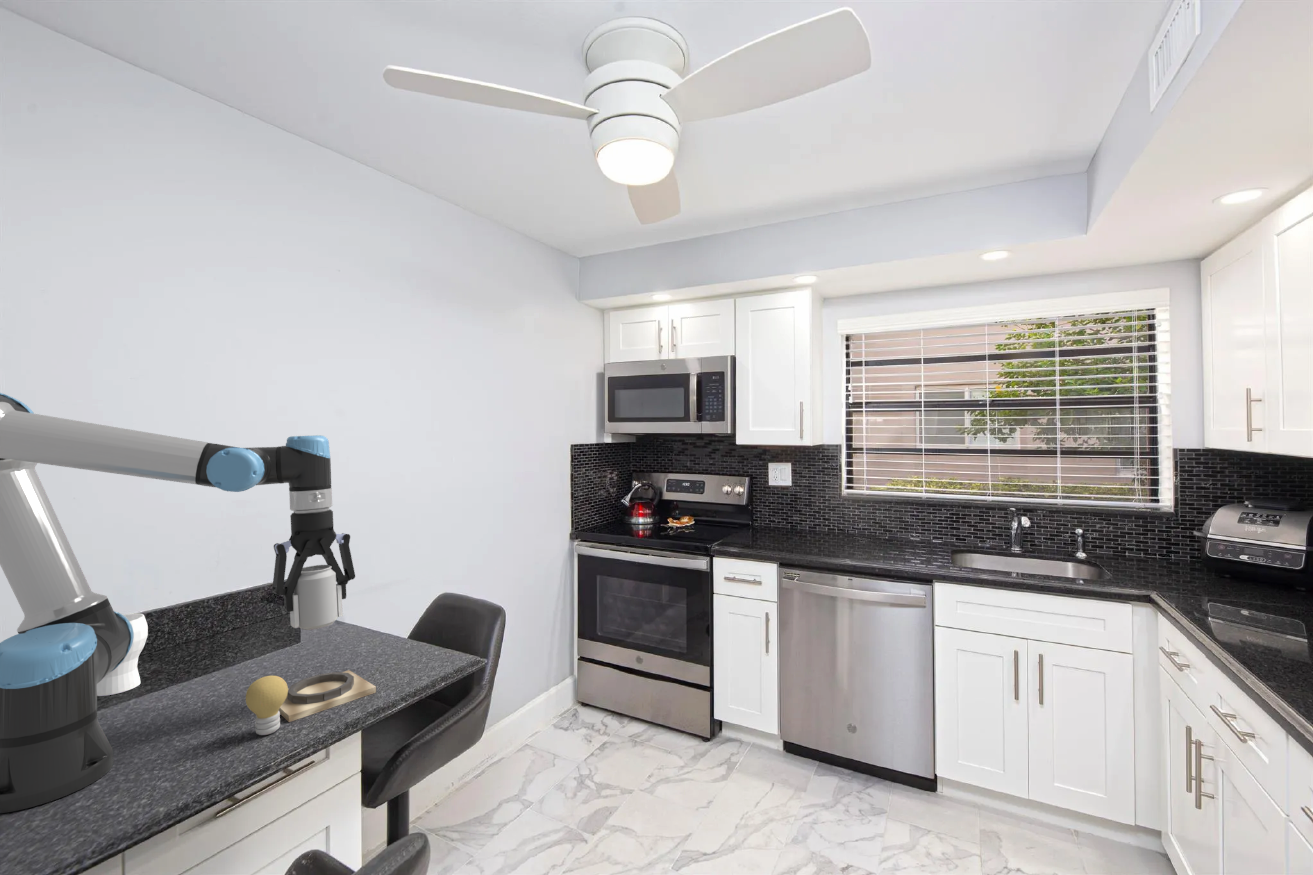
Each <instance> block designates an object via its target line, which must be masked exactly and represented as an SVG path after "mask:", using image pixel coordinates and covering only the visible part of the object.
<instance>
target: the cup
mask: <svg viewBox="0 0 1313 875" xmlns="http://www.w3.org/2000/svg"><path fill="white" fill-rule="evenodd" d="M121 614H122V615H123V616H125V617H126V618H127V619H128V620H129V622H130V623H131V625H132V628H133V633H134V638H133V643H132V646H131V648H130V650H129V652H128V654H127V656H126V657H125V659H124V660H123V661H122V663H121V664H120V665H119V666H118V667H117V668H116V669H114V670H113V671H111V672H110V673H109V674H108V675H106V676H105V677H104V678H103V679H102V680H101V681H100V682H99V683H98V684H97V697H105V696H110V695H111V696H112V695H116V694H120V693H124V692H127V691H130V690H132V689H134V688H137V687H139V686H140V684H141V678H140V674H139V668H138V663H139V656H140V654H141V652H142V651H143V650H144V647H145V644H146V642H147V638H148V637H149V636H148V635H149V631H148V630H149V628H148V627H149V626H148V622H147V620H146V616H145V614H143V613H139V612H138V613H137V612H136V613H134V612H133V613H121Z"/></svg>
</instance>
